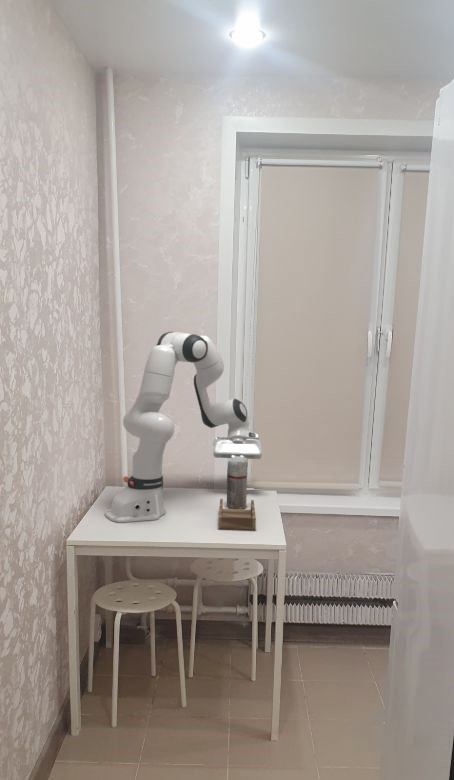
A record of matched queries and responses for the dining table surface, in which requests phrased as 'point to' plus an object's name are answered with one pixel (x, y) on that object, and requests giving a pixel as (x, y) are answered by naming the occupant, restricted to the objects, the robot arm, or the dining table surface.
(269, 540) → the dining table surface
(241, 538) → the dining table surface
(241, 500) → the spray can
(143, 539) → the dining table surface
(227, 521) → the walnut trough
